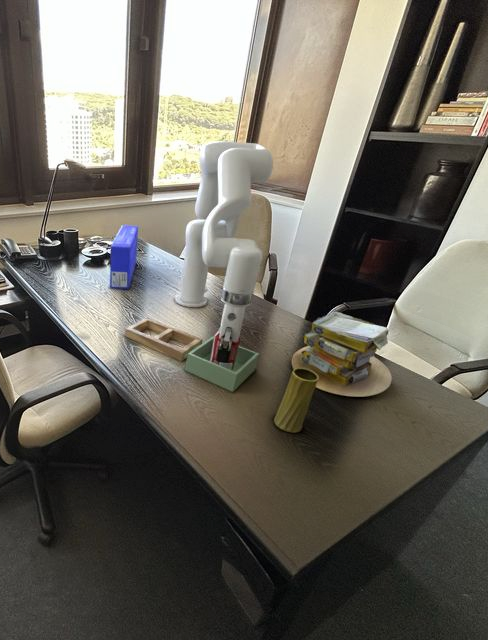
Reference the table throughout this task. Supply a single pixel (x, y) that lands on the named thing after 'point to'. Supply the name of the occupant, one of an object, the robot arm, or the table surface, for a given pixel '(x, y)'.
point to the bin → (217, 374)
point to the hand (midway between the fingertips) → (223, 353)
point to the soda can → (232, 354)
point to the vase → (296, 400)
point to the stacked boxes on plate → (345, 356)
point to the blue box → (123, 257)
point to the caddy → (163, 338)
